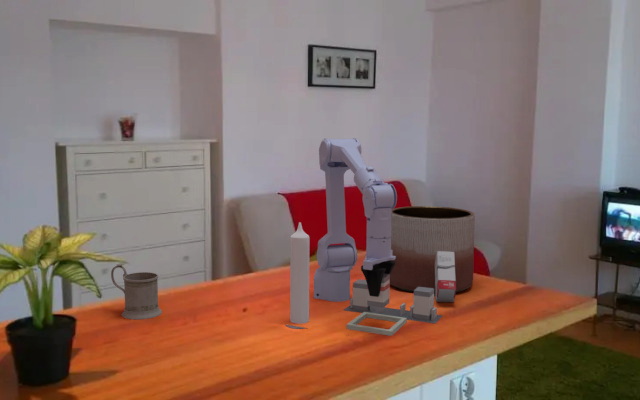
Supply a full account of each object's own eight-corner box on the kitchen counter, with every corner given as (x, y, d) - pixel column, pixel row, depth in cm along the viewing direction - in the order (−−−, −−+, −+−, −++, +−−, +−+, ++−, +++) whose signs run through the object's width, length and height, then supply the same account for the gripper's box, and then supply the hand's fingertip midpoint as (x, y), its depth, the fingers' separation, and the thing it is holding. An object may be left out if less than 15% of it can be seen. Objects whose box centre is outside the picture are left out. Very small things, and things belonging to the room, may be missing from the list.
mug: (169, 310, 169) (168, 265, 168) (144, 321, 160) (143, 273, 159) (125, 303, 175) (124, 259, 174) (99, 313, 166) (97, 267, 165)
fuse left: (352, 309, 168) (352, 282, 167) (358, 305, 172) (358, 279, 171) (367, 311, 166) (367, 284, 165) (372, 307, 170) (373, 281, 169)
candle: (318, 321, 161) (319, 220, 158) (308, 330, 154) (308, 225, 151) (291, 318, 163) (291, 219, 160) (280, 327, 157) (280, 223, 153)
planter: (412, 270, 214) (414, 203, 211) (486, 283, 199) (489, 211, 196) (370, 286, 194) (371, 212, 191) (449, 302, 179) (452, 221, 176)
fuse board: (342, 313, 168) (343, 300, 167) (353, 306, 174) (353, 293, 173) (435, 327, 157) (435, 313, 157) (442, 319, 164) (443, 305, 163)
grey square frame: (346, 332, 153) (346, 324, 153) (363, 319, 163) (364, 311, 163) (391, 340, 149) (391, 331, 148) (406, 326, 158) (406, 317, 158)
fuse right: (412, 318, 161) (413, 290, 160) (417, 313, 165) (418, 286, 164) (428, 320, 159) (429, 292, 159) (433, 316, 163) (434, 288, 162)
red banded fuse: (367, 305, 154) (367, 276, 153) (373, 300, 158) (373, 272, 157) (383, 307, 152) (384, 278, 151) (389, 302, 156) (389, 274, 155)
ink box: (456, 290, 169) (455, 250, 176) (437, 289, 170) (436, 250, 177) (453, 305, 176) (452, 266, 183) (435, 304, 177) (434, 265, 184)
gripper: (384, 243, 145) (383, 303, 146) (405, 233, 158) (403, 288, 159) (354, 240, 148) (353, 299, 149) (377, 230, 161) (376, 284, 162)
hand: (377, 293), depth 155 cm, fingers closed on red banded fuse, 4 cm apart
